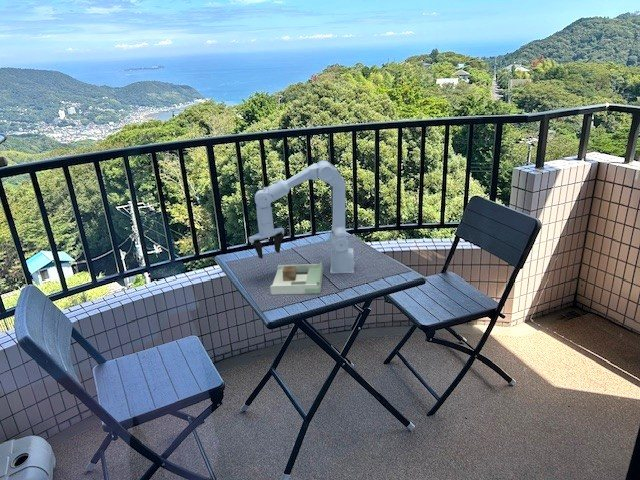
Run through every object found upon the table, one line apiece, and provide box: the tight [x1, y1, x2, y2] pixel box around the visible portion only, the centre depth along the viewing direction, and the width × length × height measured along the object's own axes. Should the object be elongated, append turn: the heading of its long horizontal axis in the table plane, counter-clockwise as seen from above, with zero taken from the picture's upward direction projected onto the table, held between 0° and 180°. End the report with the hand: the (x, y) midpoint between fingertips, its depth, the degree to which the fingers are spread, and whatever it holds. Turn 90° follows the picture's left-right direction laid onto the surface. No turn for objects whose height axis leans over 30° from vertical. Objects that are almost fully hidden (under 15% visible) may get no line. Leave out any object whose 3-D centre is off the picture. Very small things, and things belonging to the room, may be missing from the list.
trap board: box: [269, 261, 324, 296], centre depth 168 cm, size 18×18×4 cm
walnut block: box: [282, 266, 296, 281], centre depth 167 cm, size 4×4×4 cm
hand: (269, 254), depth 171 cm, fingers open, 7 cm apart
